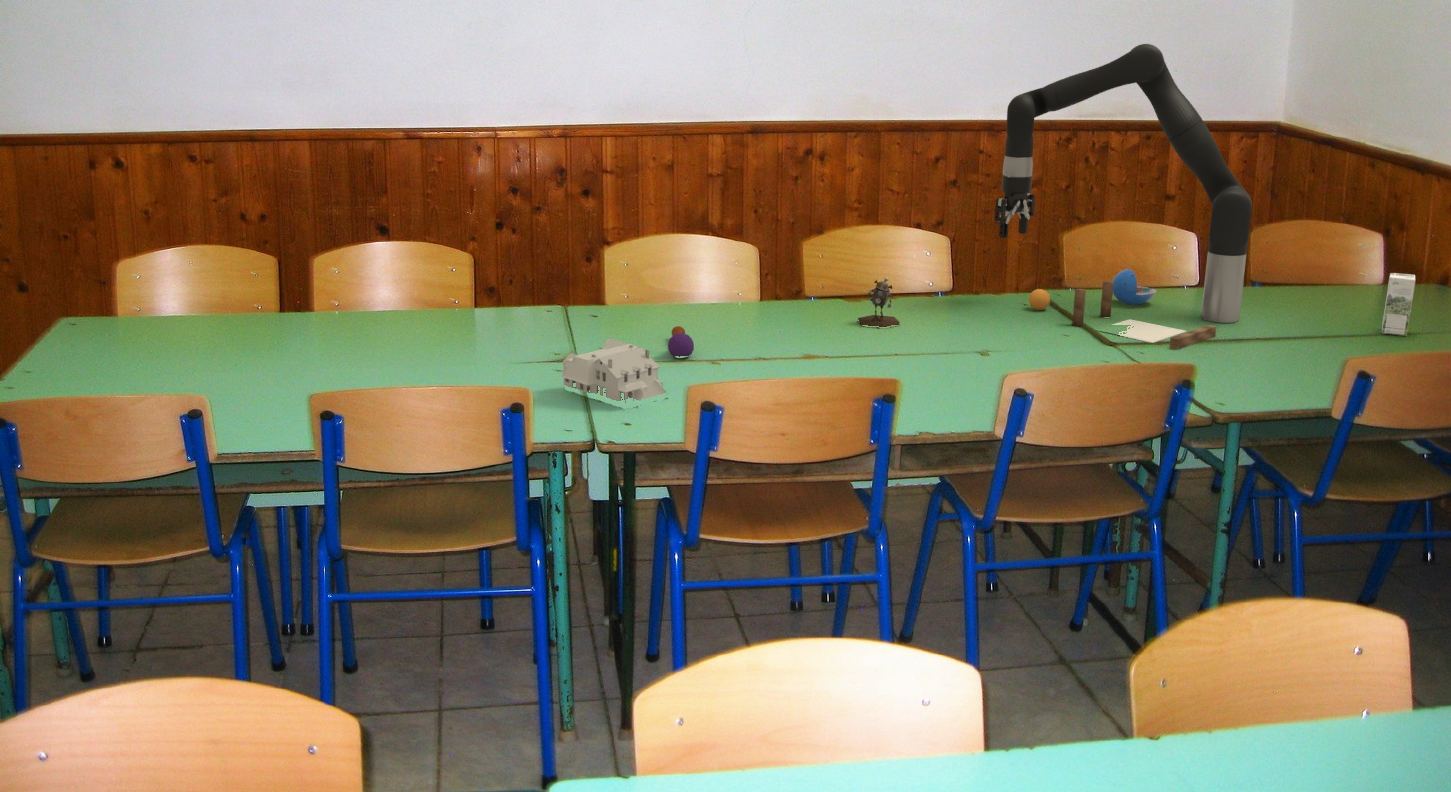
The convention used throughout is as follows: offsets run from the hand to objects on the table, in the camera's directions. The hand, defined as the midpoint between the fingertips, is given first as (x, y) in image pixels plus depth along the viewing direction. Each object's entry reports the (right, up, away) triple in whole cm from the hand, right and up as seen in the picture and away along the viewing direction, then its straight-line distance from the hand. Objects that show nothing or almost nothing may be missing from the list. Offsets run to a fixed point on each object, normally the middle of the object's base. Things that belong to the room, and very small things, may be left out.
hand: (1013, 235), depth 364 cm
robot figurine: (-37, -24, -15) cm, 47 cm away
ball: (+7, -17, -2) cm, 18 cm away
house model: (-97, -42, -72) cm, 128 cm away
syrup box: (+89, -27, -22) cm, 96 cm away
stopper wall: (+37, -29, -32) cm, 56 cm away
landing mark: (+27, -26, -22) cm, 43 cm away
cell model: (+33, -18, +6) cm, 38 cm away
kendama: (-86, -32, -39) cm, 100 cm away
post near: (+13, -24, -16) cm, 32 cm away
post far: (+22, -22, -8) cm, 32 cm away
